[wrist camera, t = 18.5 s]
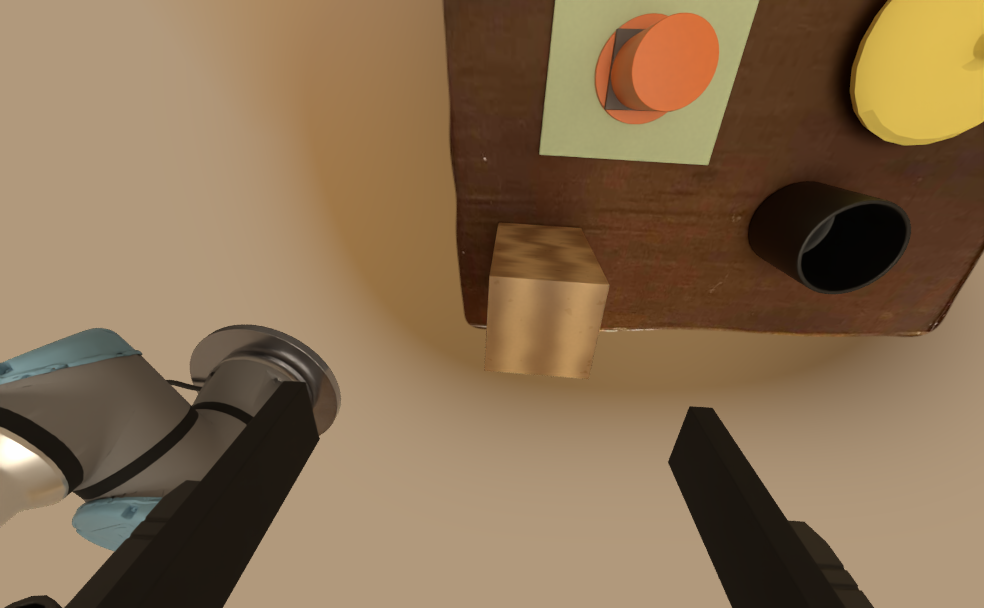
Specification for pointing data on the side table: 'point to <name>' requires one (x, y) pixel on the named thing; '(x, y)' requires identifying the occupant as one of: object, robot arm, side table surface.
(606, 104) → the hat
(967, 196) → the side table surface
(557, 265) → the block
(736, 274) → the side table surface
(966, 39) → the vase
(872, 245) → the mug
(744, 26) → the mat
